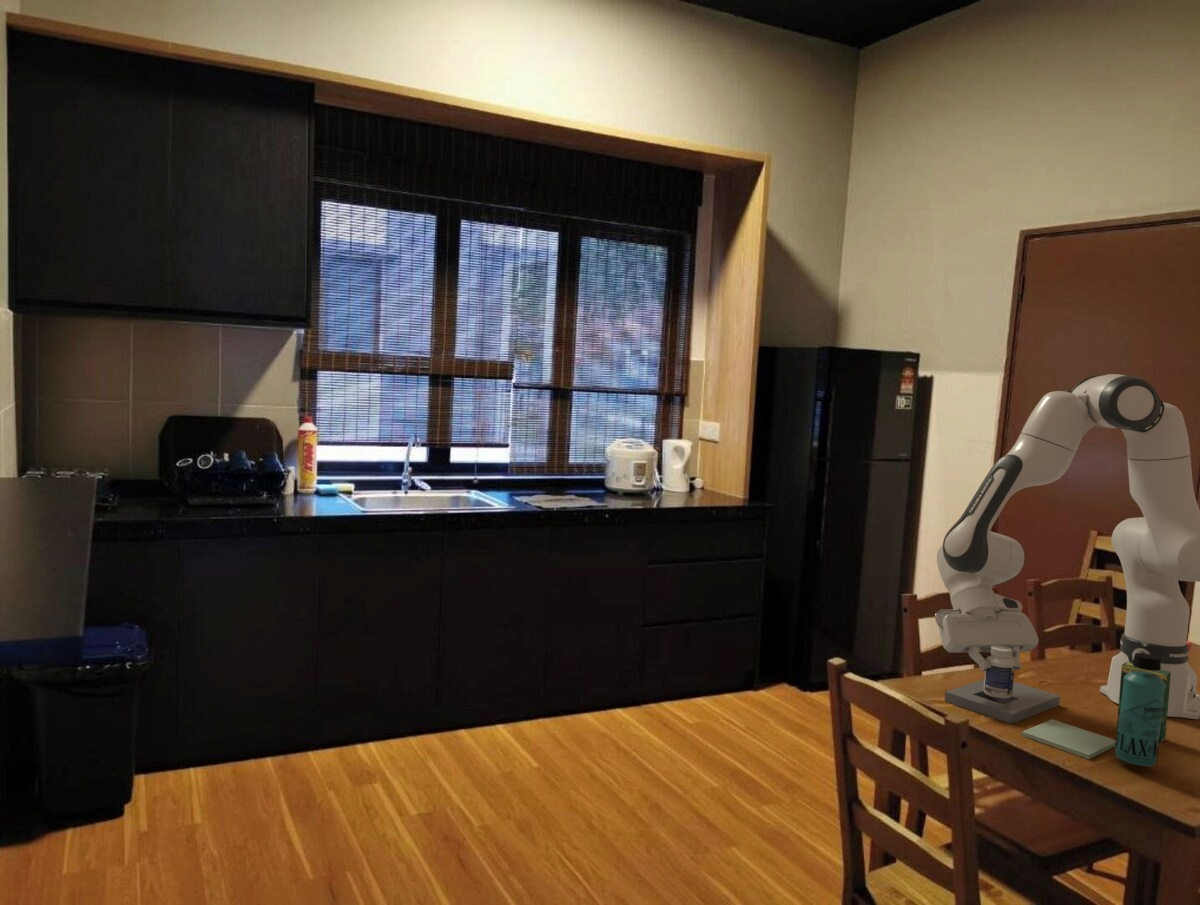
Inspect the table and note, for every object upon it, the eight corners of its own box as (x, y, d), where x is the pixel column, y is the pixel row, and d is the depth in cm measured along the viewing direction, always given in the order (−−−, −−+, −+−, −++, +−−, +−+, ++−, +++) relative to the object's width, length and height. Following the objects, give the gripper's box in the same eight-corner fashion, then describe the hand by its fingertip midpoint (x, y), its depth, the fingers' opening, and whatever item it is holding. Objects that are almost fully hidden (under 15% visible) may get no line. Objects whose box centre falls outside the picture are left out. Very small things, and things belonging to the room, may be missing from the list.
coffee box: (1113, 729, 173) (1120, 663, 172) (1118, 725, 175) (1125, 660, 174) (1161, 743, 167) (1168, 674, 166) (1165, 739, 169) (1173, 671, 168)
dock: (994, 684, 196) (995, 675, 195) (1059, 705, 185) (1060, 695, 184) (944, 701, 183) (945, 691, 183) (1011, 724, 172) (1012, 714, 172)
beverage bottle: (1104, 761, 157) (1116, 650, 155) (1130, 757, 159) (1142, 647, 158) (1139, 777, 151) (1152, 662, 149) (1165, 772, 153) (1178, 659, 152)
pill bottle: (1015, 700, 179) (1019, 653, 178) (986, 697, 180) (990, 650, 179) (1008, 691, 184) (1012, 645, 183) (980, 688, 185) (984, 642, 184)
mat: (1051, 723, 174) (1052, 719, 174) (1117, 745, 165) (1117, 740, 165) (1021, 735, 167) (1021, 731, 167) (1088, 759, 157) (1089, 755, 157)
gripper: (938, 602, 185) (962, 663, 177) (1027, 601, 189) (1054, 661, 180) (925, 617, 190) (947, 677, 181) (1012, 616, 194) (1038, 675, 185)
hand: (1001, 669), depth 181 cm, fingers closed on pill bottle, 5 cm apart
